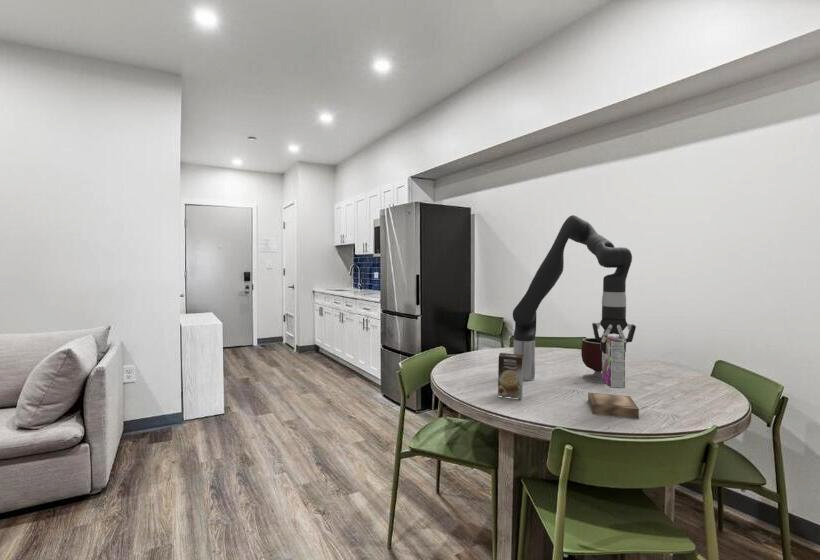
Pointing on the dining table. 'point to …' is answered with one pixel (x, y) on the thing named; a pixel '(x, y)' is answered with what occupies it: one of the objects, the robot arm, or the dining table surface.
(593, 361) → the mate gourd
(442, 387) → the dining table surface
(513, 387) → the coffee box
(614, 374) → the candy bar box
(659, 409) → the dining table surface
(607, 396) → the walnut board
